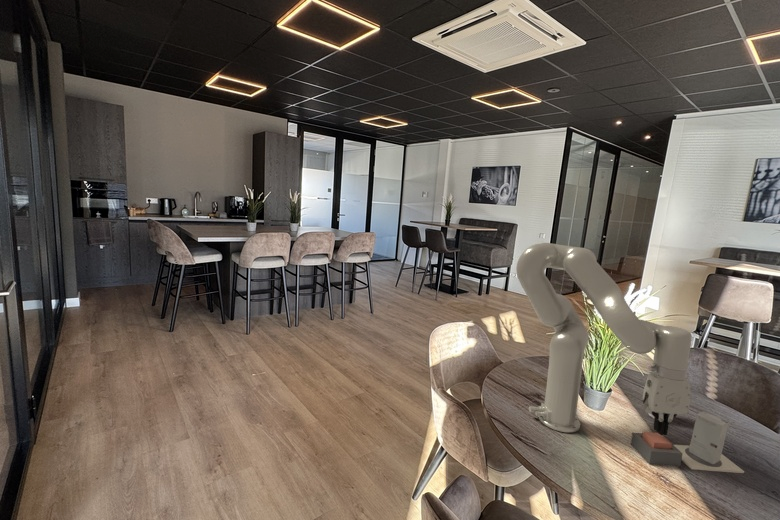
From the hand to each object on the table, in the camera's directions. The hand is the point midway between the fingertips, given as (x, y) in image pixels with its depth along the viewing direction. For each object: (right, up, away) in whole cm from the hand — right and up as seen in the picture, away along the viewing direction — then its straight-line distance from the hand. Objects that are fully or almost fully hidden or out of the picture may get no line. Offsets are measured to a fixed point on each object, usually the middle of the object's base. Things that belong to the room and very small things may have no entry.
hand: (660, 432), depth 102 cm
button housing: (-1, -7, +1) cm, 7 cm away
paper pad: (+13, -8, +1) cm, 15 cm away
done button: (-1, -5, +1) cm, 5 cm away
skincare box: (+13, -8, +1) cm, 15 cm away
